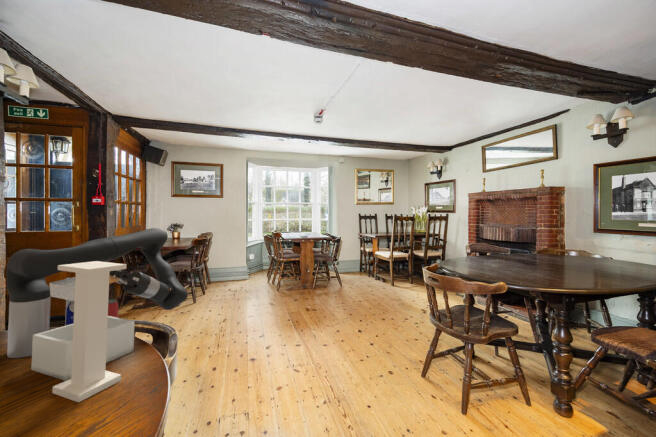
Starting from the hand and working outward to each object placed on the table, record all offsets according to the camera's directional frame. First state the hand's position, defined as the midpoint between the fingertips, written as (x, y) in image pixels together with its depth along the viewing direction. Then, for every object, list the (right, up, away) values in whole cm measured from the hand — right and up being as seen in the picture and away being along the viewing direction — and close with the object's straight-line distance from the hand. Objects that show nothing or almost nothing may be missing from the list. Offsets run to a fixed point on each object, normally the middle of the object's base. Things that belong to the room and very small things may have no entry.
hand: (99, 267), depth 90 cm
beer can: (-12, -28, +19) cm, 36 cm away
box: (-3, -28, -2) cm, 28 cm away
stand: (+10, -29, -16) cm, 34 cm away
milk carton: (-26, -28, +21) cm, 44 cm away
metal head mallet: (-1, -7, -2) cm, 7 cm away
